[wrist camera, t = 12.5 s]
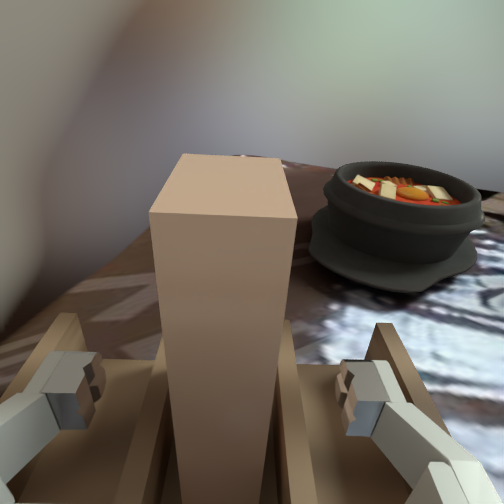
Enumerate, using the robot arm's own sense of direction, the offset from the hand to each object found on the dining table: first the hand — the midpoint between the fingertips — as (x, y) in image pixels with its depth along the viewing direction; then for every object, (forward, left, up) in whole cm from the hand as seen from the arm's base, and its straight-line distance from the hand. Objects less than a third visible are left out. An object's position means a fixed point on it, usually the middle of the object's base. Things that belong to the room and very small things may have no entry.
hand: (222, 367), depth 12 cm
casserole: (-27, -20, -11) cm, 35 cm away
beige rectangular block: (-1, -2, -9) cm, 9 cm away
